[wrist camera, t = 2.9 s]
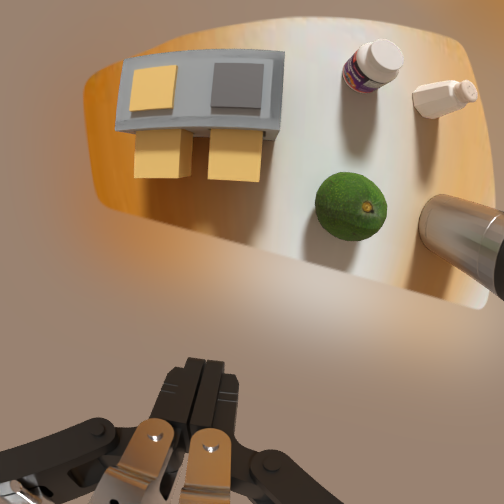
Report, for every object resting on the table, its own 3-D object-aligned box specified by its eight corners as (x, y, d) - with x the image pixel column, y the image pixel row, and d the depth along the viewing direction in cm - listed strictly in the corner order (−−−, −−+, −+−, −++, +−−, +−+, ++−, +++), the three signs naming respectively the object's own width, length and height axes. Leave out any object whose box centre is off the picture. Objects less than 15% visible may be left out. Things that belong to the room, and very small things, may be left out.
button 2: (264, 111, 28) (264, 102, 24) (259, 179, 31) (259, 182, 26) (220, 109, 28) (213, 100, 24) (216, 176, 31) (207, 179, 26)
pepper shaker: (407, 108, 30) (452, 95, 20) (415, 79, 29) (457, 60, 18) (435, 126, 31) (482, 121, 20) (442, 98, 29) (487, 87, 18)
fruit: (306, 228, 36) (325, 257, 25) (310, 168, 34) (332, 171, 23) (362, 231, 36) (399, 260, 25) (367, 174, 34) (410, 181, 22)
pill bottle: (338, 59, 29) (360, 30, 20) (373, 61, 28) (403, 36, 19) (345, 94, 30) (371, 73, 21) (380, 95, 30) (414, 78, 21)
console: (278, 83, 30) (285, 49, 19) (274, 140, 33) (280, 129, 22) (159, 83, 31) (121, 57, 20) (154, 137, 33) (111, 130, 22)
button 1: (195, 109, 28) (183, 100, 24) (190, 175, 31) (178, 178, 26) (155, 111, 28) (138, 104, 24) (151, 175, 31) (134, 178, 26)
